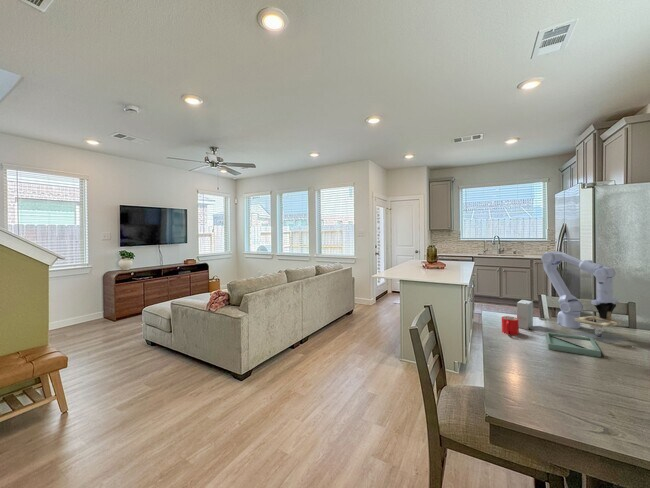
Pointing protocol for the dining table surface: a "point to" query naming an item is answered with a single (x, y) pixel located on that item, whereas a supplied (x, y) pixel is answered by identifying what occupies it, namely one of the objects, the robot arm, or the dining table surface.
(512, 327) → the mug
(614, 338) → the stake board
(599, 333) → the stake
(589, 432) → the dining table surface
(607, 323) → the tan wooden square frame
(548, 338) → the tray
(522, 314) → the skincare box
